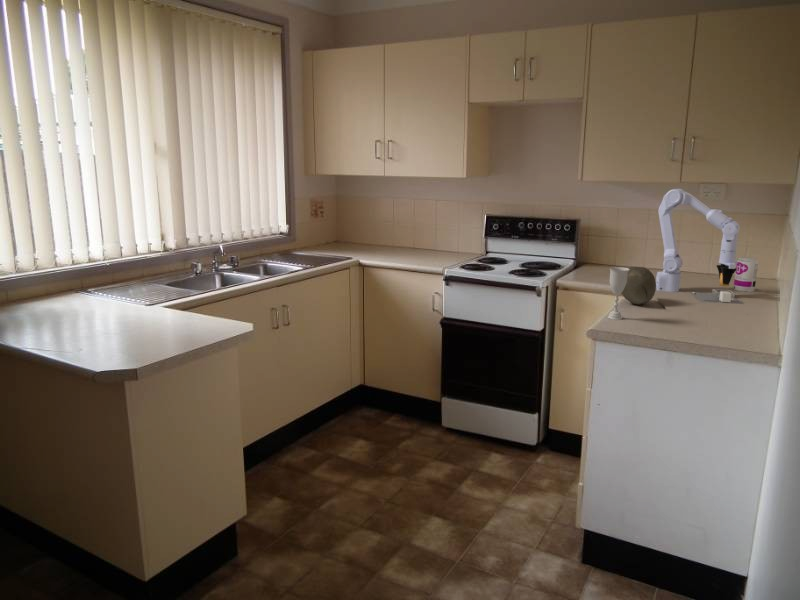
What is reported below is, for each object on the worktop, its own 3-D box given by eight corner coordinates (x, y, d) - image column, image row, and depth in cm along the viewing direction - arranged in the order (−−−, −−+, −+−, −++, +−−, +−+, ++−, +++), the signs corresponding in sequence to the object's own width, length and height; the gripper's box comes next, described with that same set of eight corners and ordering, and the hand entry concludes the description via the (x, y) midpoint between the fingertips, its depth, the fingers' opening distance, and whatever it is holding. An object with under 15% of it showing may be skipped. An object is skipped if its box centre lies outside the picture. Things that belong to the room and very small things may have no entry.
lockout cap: (720, 286, 260) (722, 274, 259) (718, 284, 263) (719, 272, 262) (730, 286, 259) (731, 274, 258) (727, 284, 263) (728, 272, 262)
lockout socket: (716, 297, 260) (716, 292, 259) (711, 293, 266) (712, 289, 266) (734, 298, 258) (734, 293, 258) (728, 294, 265) (729, 290, 264)
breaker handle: (722, 301, 250) (723, 293, 250) (719, 299, 254) (720, 291, 254) (730, 302, 250) (731, 293, 249) (727, 300, 254) (728, 291, 253)
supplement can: (743, 294, 270) (747, 259, 267) (728, 290, 278) (732, 256, 275) (758, 293, 273) (763, 259, 269) (743, 289, 280) (748, 256, 277)
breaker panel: (700, 304, 251) (700, 300, 251) (689, 294, 269) (689, 291, 268) (743, 306, 248) (744, 302, 248) (729, 296, 266) (730, 293, 265)
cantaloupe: (656, 302, 253) (660, 265, 250) (650, 309, 241) (654, 271, 238) (620, 298, 260) (623, 262, 257) (612, 305, 248) (616, 267, 245)
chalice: (609, 314, 233) (613, 266, 229) (627, 317, 229) (632, 268, 225) (601, 318, 228) (605, 269, 224) (620, 321, 224) (625, 271, 220)
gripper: (744, 253, 250) (740, 287, 253) (733, 248, 264) (729, 280, 267) (725, 252, 252) (721, 286, 255) (715, 247, 266) (711, 279, 269)
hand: (724, 283), depth 261 cm, fingers closed on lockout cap, 4 cm apart
